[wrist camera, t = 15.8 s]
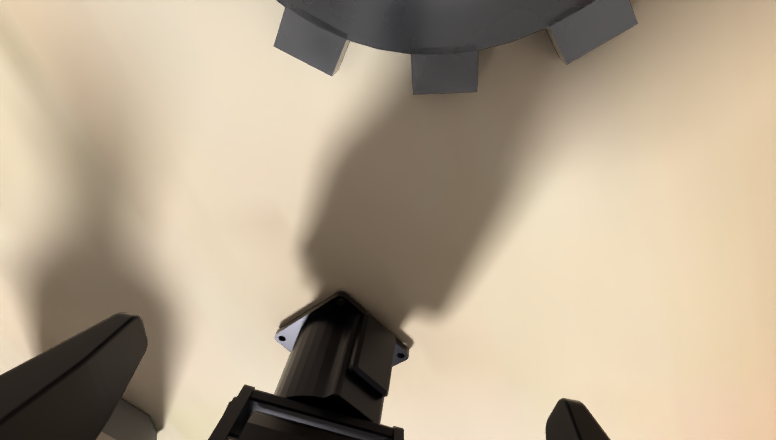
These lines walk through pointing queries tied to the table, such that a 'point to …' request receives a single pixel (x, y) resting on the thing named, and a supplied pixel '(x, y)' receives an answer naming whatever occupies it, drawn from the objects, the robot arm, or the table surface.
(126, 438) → the liquor
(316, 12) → the timing wheel
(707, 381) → the table surface
